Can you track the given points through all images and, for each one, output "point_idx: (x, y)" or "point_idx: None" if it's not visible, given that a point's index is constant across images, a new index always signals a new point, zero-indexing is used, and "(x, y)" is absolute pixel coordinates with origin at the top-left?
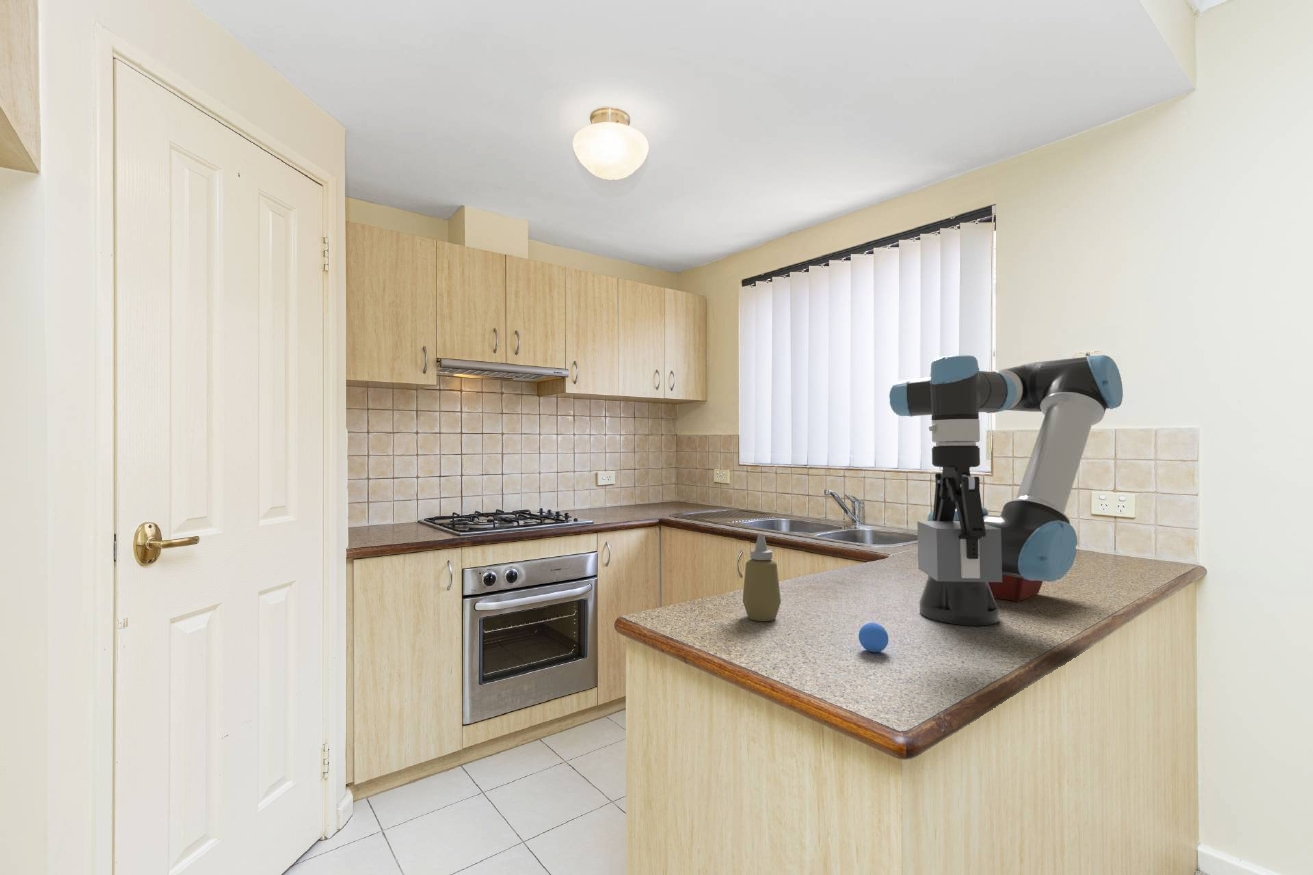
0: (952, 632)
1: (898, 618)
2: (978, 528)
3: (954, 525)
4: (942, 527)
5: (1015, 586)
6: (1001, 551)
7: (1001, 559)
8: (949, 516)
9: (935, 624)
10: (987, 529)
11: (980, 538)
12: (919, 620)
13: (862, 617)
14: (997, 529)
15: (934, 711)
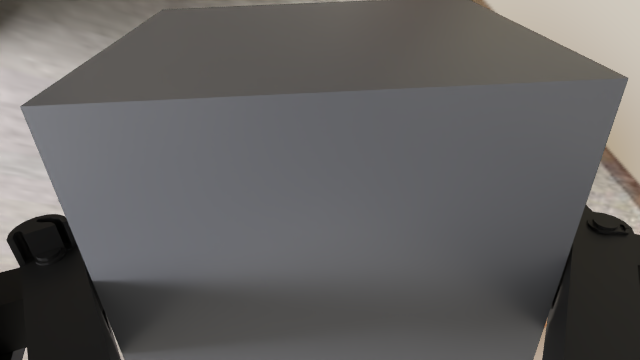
0: (103, 3)
1: (11, 123)
2: (631, 263)
3: (369, 325)
4: None
5: None
6: (529, 29)
7: (506, 19)
8: (109, 339)
9: (29, 30)
10: (590, 182)
11: (605, 214)
12: (3, 68)
13: (48, 208)
14: (616, 107)
15: (610, 185)
